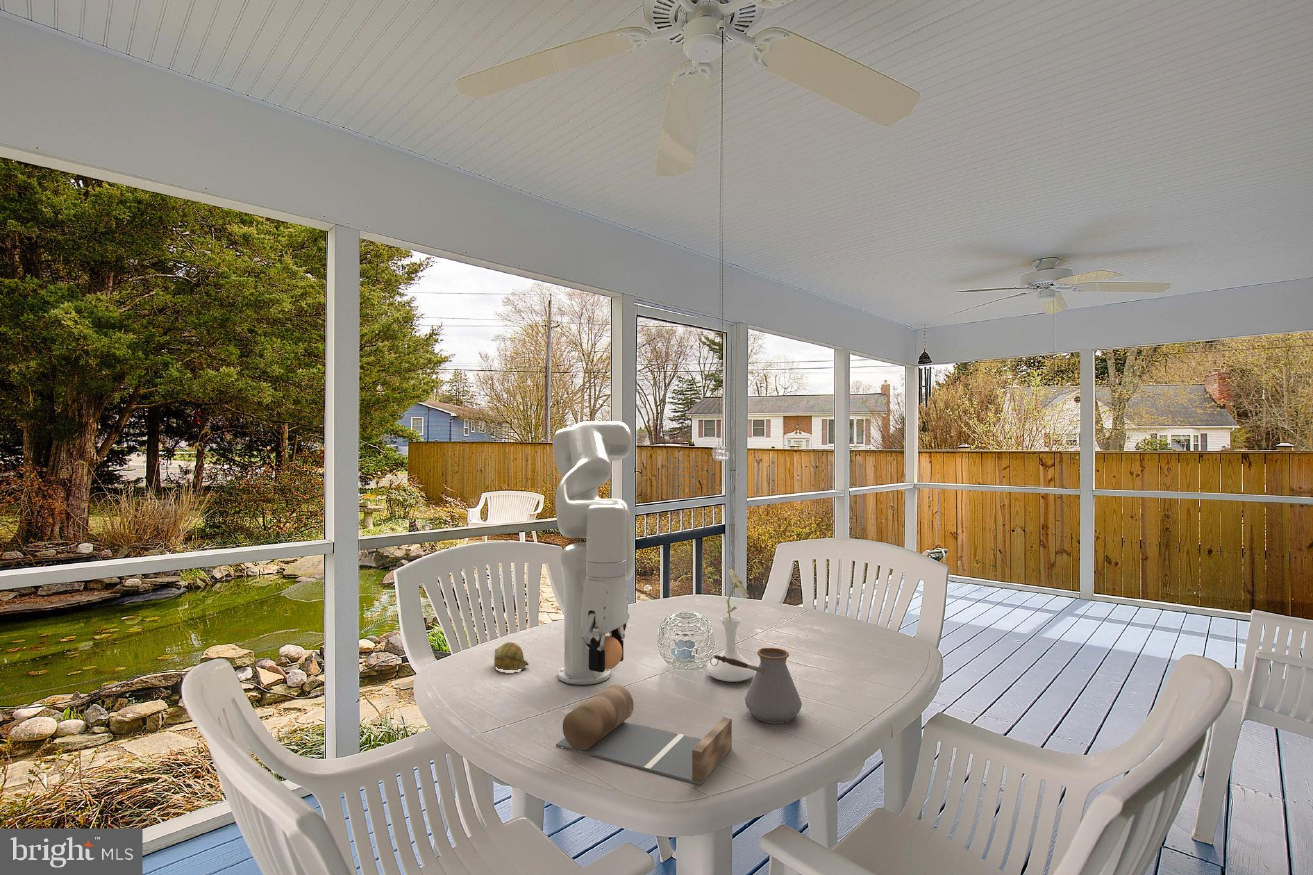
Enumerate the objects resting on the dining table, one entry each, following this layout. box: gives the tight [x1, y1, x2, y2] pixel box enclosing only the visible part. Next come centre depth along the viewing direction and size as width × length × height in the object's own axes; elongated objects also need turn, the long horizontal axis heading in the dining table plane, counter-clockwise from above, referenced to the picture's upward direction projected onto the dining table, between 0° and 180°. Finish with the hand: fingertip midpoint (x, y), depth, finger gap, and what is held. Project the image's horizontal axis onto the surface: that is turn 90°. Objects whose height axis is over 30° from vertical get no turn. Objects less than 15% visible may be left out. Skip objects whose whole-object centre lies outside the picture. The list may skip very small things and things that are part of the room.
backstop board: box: [692, 716, 733, 782], centre depth 112 cm, size 14×2×5 cm, turn 153°
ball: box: [597, 635, 622, 670], centre depth 122 cm, size 6×6×6 cm
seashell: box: [493, 641, 529, 670], centre depth 160 cm, size 10×7×8 cm
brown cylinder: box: [562, 684, 634, 751], centre depth 123 cm, size 14×7×7 cm, turn 153°
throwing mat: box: [555, 721, 733, 786], centre depth 119 cm, size 14×29×1 cm, turn 63°
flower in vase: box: [706, 568, 756, 683], centre depth 154 cm, size 13×11×25 cm
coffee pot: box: [709, 647, 803, 724], centre depth 130 cm, size 21×12×15 cm, turn 123°
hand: (606, 664), depth 122 cm, fingers closed on ball, 5 cm apart
